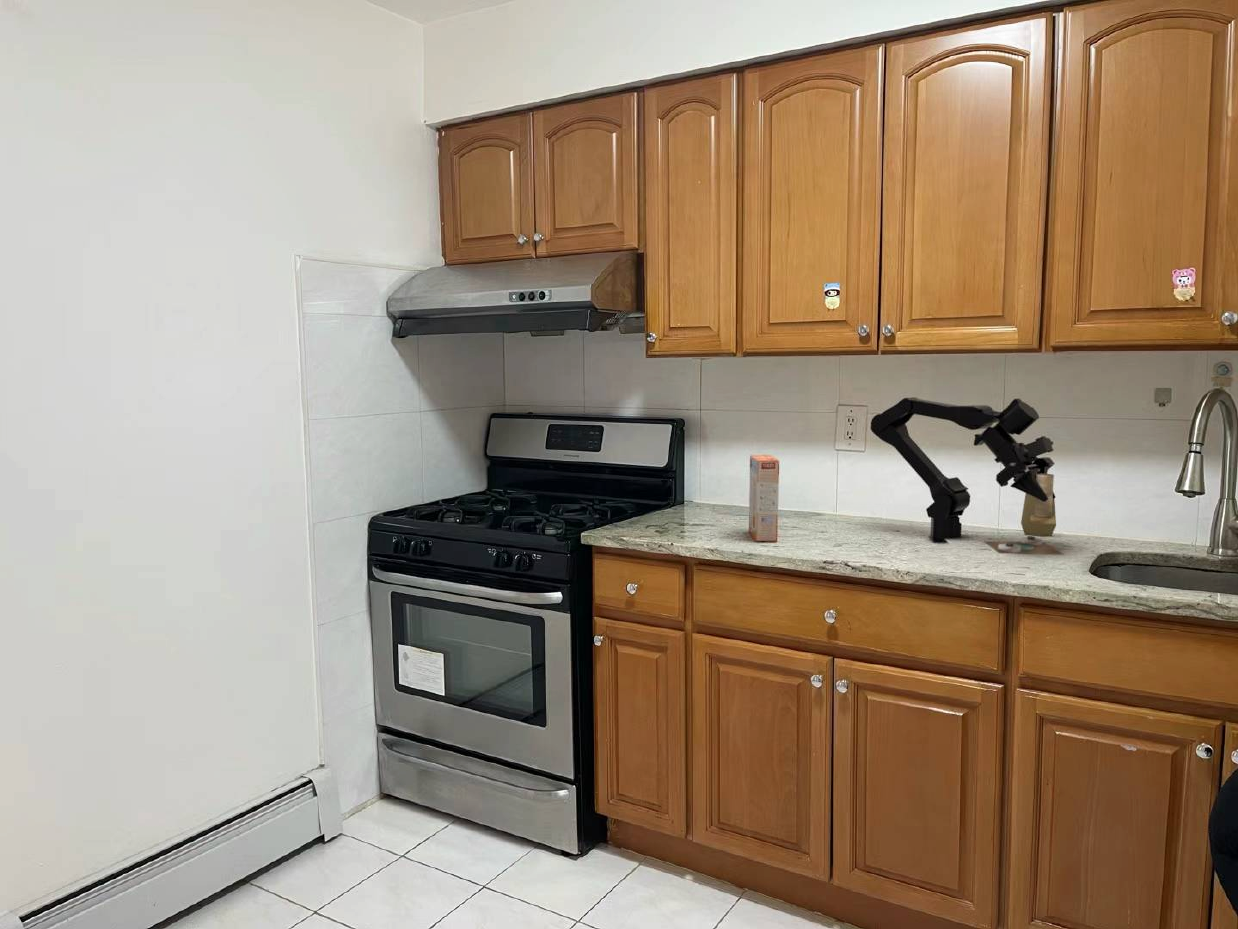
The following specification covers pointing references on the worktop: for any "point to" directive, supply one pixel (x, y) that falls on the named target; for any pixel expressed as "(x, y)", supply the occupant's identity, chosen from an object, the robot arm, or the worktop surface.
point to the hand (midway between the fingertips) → (1050, 499)
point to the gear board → (1024, 547)
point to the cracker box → (763, 498)
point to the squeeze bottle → (1032, 527)
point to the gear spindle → (1045, 508)
